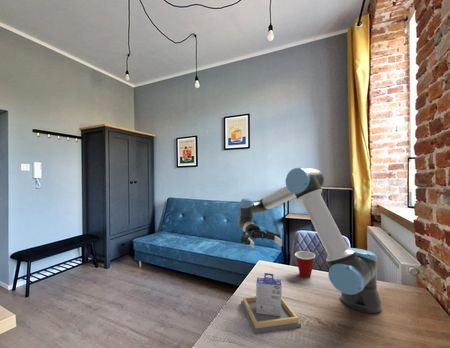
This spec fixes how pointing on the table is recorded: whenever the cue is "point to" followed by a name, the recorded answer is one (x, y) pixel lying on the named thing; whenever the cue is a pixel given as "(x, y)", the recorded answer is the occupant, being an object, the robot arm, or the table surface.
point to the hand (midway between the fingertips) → (267, 244)
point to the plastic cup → (305, 263)
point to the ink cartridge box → (268, 296)
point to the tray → (269, 317)
